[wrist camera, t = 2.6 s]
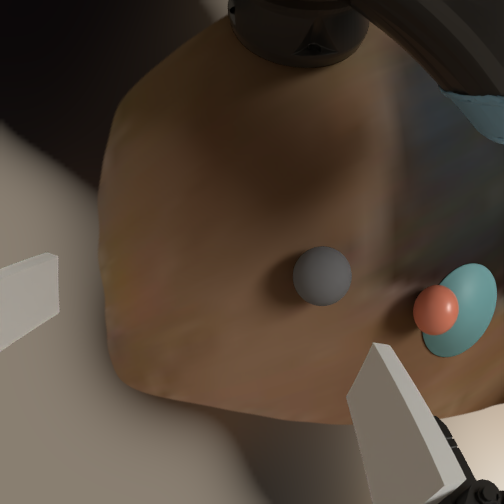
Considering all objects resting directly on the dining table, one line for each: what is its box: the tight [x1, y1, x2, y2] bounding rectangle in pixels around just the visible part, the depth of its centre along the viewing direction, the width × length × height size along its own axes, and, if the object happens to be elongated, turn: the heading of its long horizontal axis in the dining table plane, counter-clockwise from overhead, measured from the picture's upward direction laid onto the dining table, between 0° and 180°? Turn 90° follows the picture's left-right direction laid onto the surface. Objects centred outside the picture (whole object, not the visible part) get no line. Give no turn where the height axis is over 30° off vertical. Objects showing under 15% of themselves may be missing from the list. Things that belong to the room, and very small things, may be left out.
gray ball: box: [293, 246, 352, 306], centre depth 26 cm, size 6×6×6 cm
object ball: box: [413, 285, 459, 335], centre depth 25 cm, size 6×6×6 cm
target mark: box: [423, 263, 497, 357], centre depth 28 cm, size 13×13×1 cm
